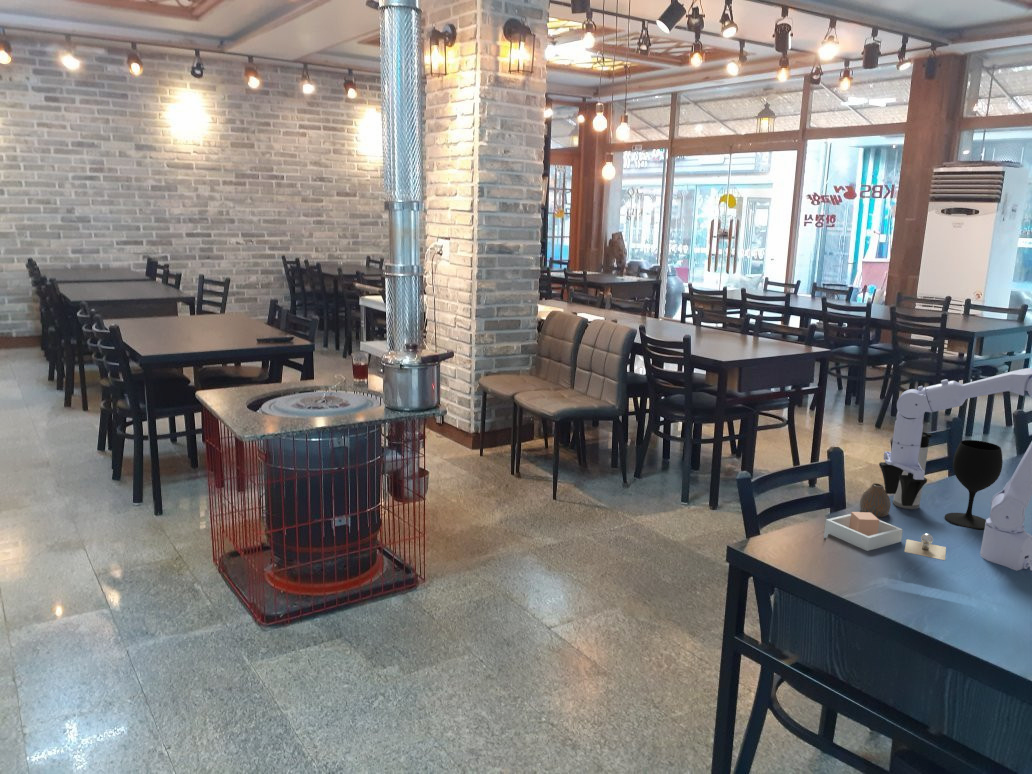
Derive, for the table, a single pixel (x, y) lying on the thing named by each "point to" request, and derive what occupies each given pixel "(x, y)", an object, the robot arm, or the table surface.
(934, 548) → the base
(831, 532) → the bin
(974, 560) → the table surface
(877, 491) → the vase
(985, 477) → the wine glass
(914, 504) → the travel mug
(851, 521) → the block
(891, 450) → the robot arm
